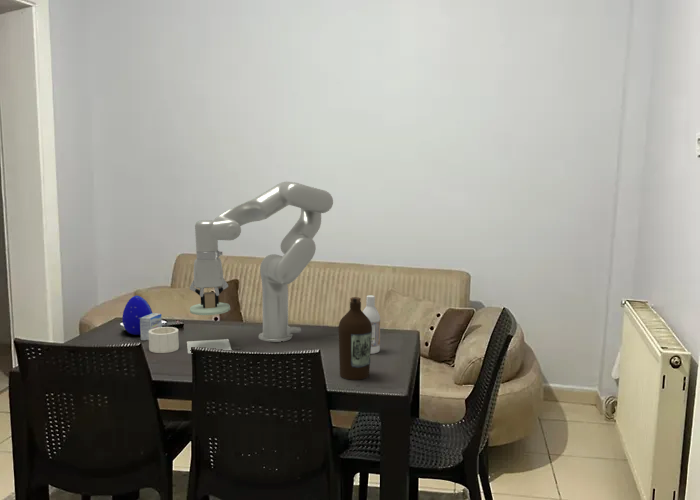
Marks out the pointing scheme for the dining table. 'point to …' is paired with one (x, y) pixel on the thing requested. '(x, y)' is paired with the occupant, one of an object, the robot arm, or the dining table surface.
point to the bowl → (163, 340)
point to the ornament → (135, 314)
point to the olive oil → (354, 342)
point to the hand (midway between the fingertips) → (209, 306)
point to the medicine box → (149, 324)
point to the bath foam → (373, 323)
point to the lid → (209, 306)
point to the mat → (210, 344)
